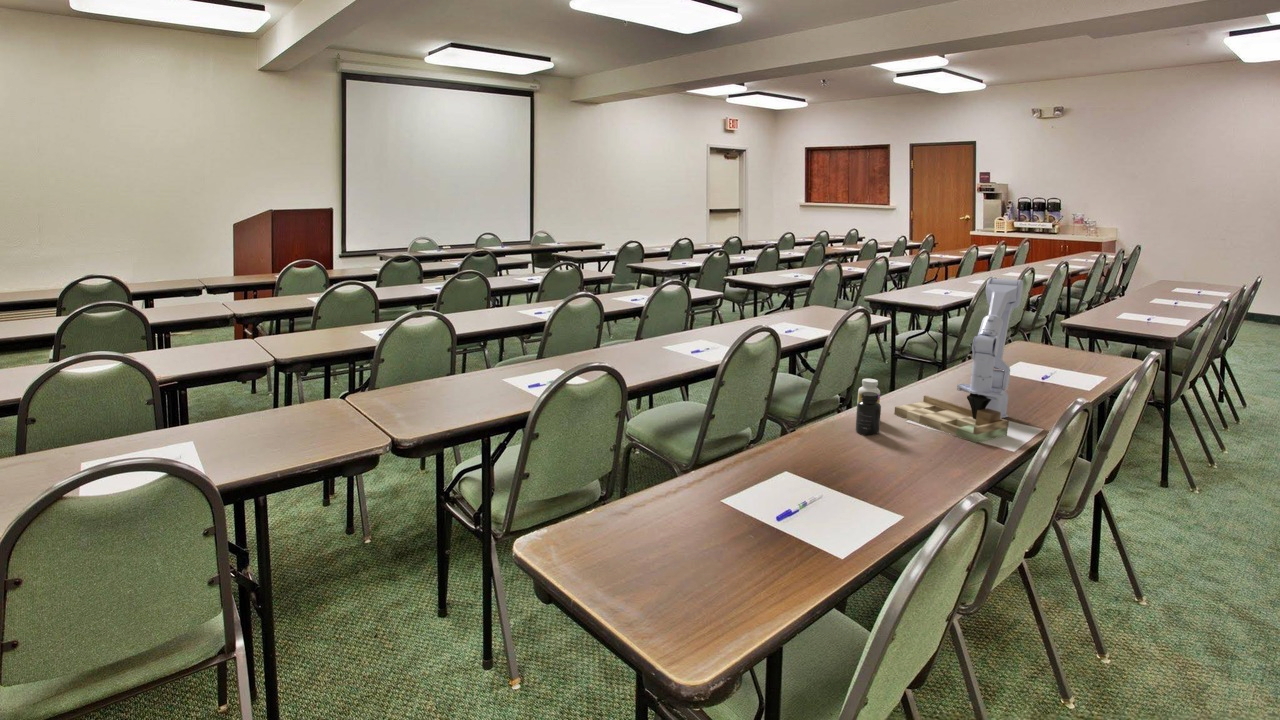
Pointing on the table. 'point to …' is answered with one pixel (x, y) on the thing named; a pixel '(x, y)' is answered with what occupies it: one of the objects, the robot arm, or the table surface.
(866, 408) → the supplement bottle
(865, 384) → the supplement bottle
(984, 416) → the walnut block
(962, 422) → the trap board
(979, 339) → the robot arm
